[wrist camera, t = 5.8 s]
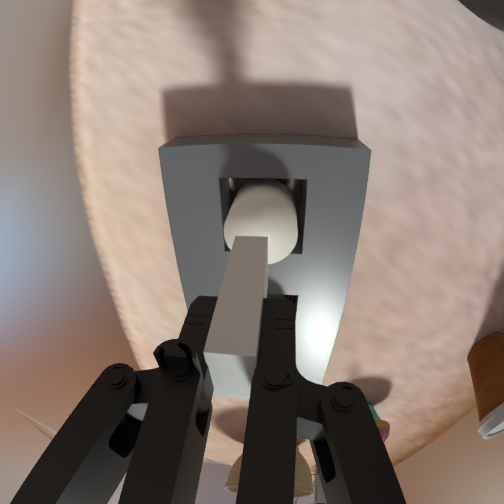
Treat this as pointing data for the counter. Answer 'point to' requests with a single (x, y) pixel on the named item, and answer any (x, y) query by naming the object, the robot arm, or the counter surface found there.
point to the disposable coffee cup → (489, 383)
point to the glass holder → (318, 491)
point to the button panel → (309, 238)
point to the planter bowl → (301, 477)
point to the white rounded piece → (264, 216)
